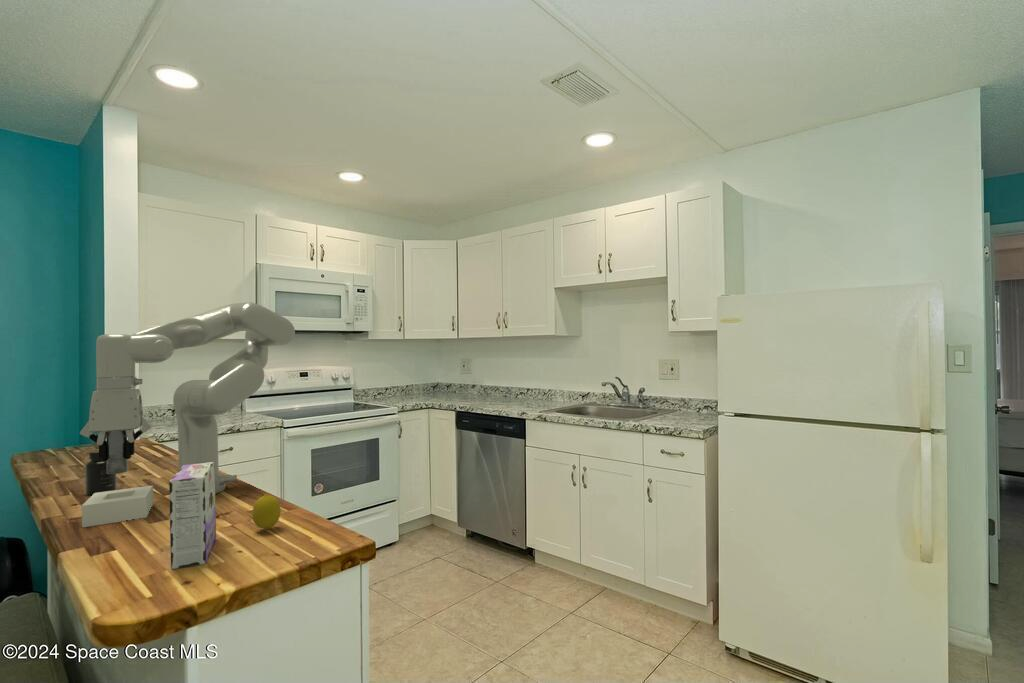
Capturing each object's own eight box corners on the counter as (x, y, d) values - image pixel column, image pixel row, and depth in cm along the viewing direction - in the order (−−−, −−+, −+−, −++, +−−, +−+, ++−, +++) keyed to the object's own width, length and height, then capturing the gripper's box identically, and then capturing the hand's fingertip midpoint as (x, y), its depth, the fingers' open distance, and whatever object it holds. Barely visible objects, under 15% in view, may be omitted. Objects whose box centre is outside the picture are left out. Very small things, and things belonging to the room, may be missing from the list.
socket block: (153, 504, 132) (152, 485, 132) (146, 517, 122) (145, 496, 122) (94, 512, 127) (94, 492, 127) (82, 527, 116) (81, 505, 116)
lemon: (275, 524, 115) (274, 488, 115) (284, 530, 111) (283, 493, 111) (249, 531, 111) (248, 494, 111) (257, 537, 107) (256, 499, 107)
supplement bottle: (79, 495, 143) (78, 452, 143) (105, 488, 150) (104, 447, 150) (97, 496, 141) (96, 453, 141) (122, 489, 148) (121, 448, 148)
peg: (128, 469, 127) (128, 421, 127) (125, 472, 123) (125, 423, 123) (108, 471, 125) (108, 422, 125) (104, 474, 121) (104, 424, 121)
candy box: (184, 543, 105) (182, 464, 105) (217, 538, 107) (215, 460, 107) (169, 570, 92) (167, 479, 92) (207, 564, 94) (204, 475, 94)
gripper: (159, 382, 132) (160, 452, 131) (76, 385, 124) (77, 460, 123) (155, 383, 125) (156, 458, 125) (67, 387, 117) (68, 466, 117)
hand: (116, 458), depth 124 cm, fingers closed on peg, 4 cm apart
